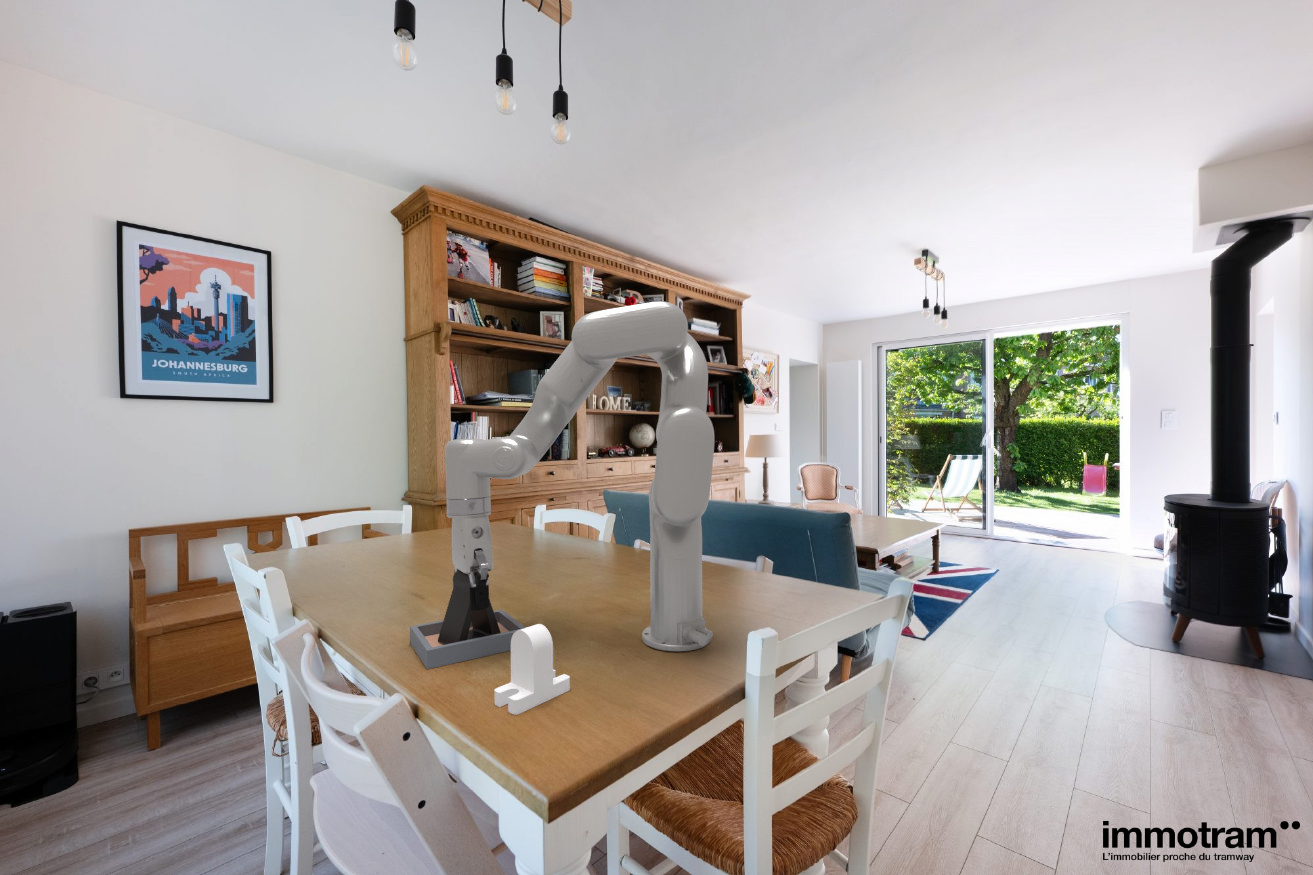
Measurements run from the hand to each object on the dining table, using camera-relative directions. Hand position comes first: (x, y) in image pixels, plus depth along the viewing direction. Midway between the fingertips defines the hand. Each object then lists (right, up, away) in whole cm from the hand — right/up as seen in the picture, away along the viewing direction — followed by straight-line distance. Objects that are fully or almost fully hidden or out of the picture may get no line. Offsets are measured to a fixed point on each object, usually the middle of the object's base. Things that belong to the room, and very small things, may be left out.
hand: (471, 602), depth 99 cm
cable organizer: (+16, -8, -20) cm, 26 cm away
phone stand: (0, -7, 0) cm, 7 cm away
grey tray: (0, -8, 0) cm, 8 cm away
